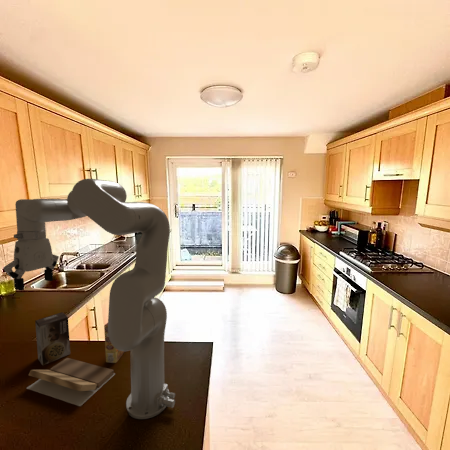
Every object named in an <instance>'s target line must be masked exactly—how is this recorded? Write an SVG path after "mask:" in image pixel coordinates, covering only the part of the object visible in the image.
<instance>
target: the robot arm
mask: <svg viewBox="0 0 450 450" xmlns="http://www.w3.org/2000/svg"><path fill="white" fill-rule="evenodd" d="M127 198H128V197H127V191H126V190H125V188H124V187H123V186H122V185H121V184H120V183H118V182H116V181H112V180H104V179H96V178H84V179H81V180H79V181H77V182H76V183H75V184H74V185H73V188H72V190H70V192H69V193H68V195H67V197H66V198H32V199H31V198H29V199H26V198H25V199H24V198H23V199H22V198H21V199H17V200H16V202H15V218H16V230H17V232H16V234H13V239H17V241H15V243H14V251H13V260H12V261H10V262H9V263H8V264H7V265H5V266H4V267H3V270H4V272H5V273H6V275H7V276H9V277H11V279H13V285H14V289H15V290H16V291H24V290H25V282H24V281H25V279H24V277H23V276H24V274H25V273H26V272H27V273H28V272H32V271H36V270H41V269H44V270H43V271H44V273H43V274H44V281H47V282H53V280H54V273H53V271H54V269H55V267H56V266H57V262H58V260H59V258H60V256H59V255H56V254H53V250H52V246H51V242H50V239H49V238H47V232H46V231H47V230H46V223H50V222H62V221H63V222H65V221H72V220H77V219H82V218H85V217H88V218H89V219H91V221H93V222H94V223H95V224H97V225H98V226H99V227H100V228H101V229H103V230H104V231H105V232H107V233H109V234H111V235H115V236H127V235H130V234H136V233H141V237H140V239H139V241H138V244H137V246H136V250H135V261H134V262H135V263H134V266H133V268H132V269H130V270H128V271H125V272H123V273H122V274H119V275H118V276H117V277H116V278H115V279H114V281H113V282H112V284H111V287H110V291H109V299H108V316H107V317H108V318H107V323H108V335H109V339H110V342H111V344H112V345H113V346H114V347H115V348H116V349H117V350H119V351H125V352H129V351H130V354H129V355H130V356H129V357H130V359H129V360H130V387H131V388H130V394H128V397H127V398H126V401H125V407H126V411H127V414H128V416H130V417H131V418H133V419H136V420H148V419H150V418H154V417H156V416H158V415H159V414H161V413H162V412H163V411H164V410H165V409H166V408H167V407H168V408H171V409H173V408H174V407H175V404H176V399H175V397H176V393H175V392H170V390H169V387H168V384H167V383H165V333H166V326H167V318H168V313H167V312H168V311H167V307H166V305H165V303H164V302H163V301H162V300H161V299H159V298H157V296H158V295H160V294H161V292H163V290H164V289H165V285H166V284H165V283H166V274H167V262H168V249H169V241H170V232H171V231H170V230H171V228H170V227H171V226H170V221H169V219H168V217H167V214H166V213H165V212H164V211H163V209H161V208H160V207H159V206H157V205H155V204H153V203H150V202H144V201H143V202H142V201H132V202H131V201H126V200H127ZM13 268H14V270H13Z"/></svg>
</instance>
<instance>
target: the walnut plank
mask: <svg viewBox="0 0 450 450" xmlns="http://www.w3.org/2000/svg"><path fill="white" fill-rule="evenodd" d="M49 370H51V371H54V372H57V373H61V374H64V375H68V376H71V377H75V378H78V379H81V380H85V381H88V382H92V383H95V384H97V386H96V387H98V388H99V387H100V386H101V385H102V384H103V383H104V382H106V381H107V380H108V379H109V378H110V377H111V376H112V375H113V374H114V373H115V372H114V371H115V370H114V369H112V368H107V367H104V366H100V365H96V364H92V363H88V362H85V361H81V360H78V359H74V358H69V357H66V358H64V359H63V360H61V361H60V362H58V363H56V364H55V365H53V366H52V367H51V368H49ZM109 380H110V379H109ZM109 380H108V381H109ZM108 381H107V382H108ZM107 382H106V383H107Z"/></svg>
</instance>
